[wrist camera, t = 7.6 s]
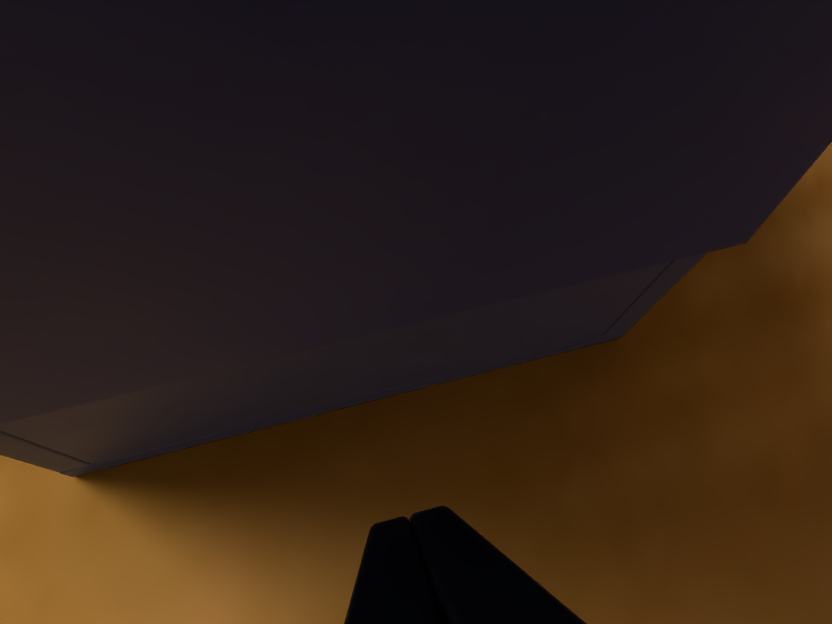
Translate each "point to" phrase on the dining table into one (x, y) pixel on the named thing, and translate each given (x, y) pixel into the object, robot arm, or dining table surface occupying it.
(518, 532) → the dining table surface
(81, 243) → the lid
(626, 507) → the dining table surface
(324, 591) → the dining table surface
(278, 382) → the box
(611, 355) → the dining table surface
